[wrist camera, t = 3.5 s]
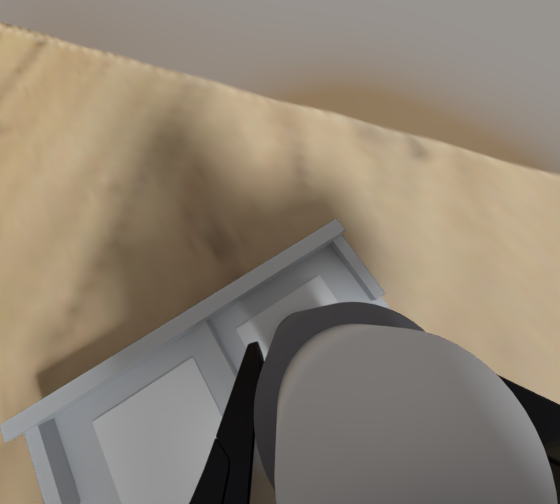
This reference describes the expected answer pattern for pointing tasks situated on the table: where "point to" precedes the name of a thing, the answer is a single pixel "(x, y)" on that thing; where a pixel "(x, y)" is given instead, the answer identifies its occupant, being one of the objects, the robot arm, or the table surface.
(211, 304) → the white tray
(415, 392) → the grey upright cylinder
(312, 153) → the table surface
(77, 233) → the table surface
